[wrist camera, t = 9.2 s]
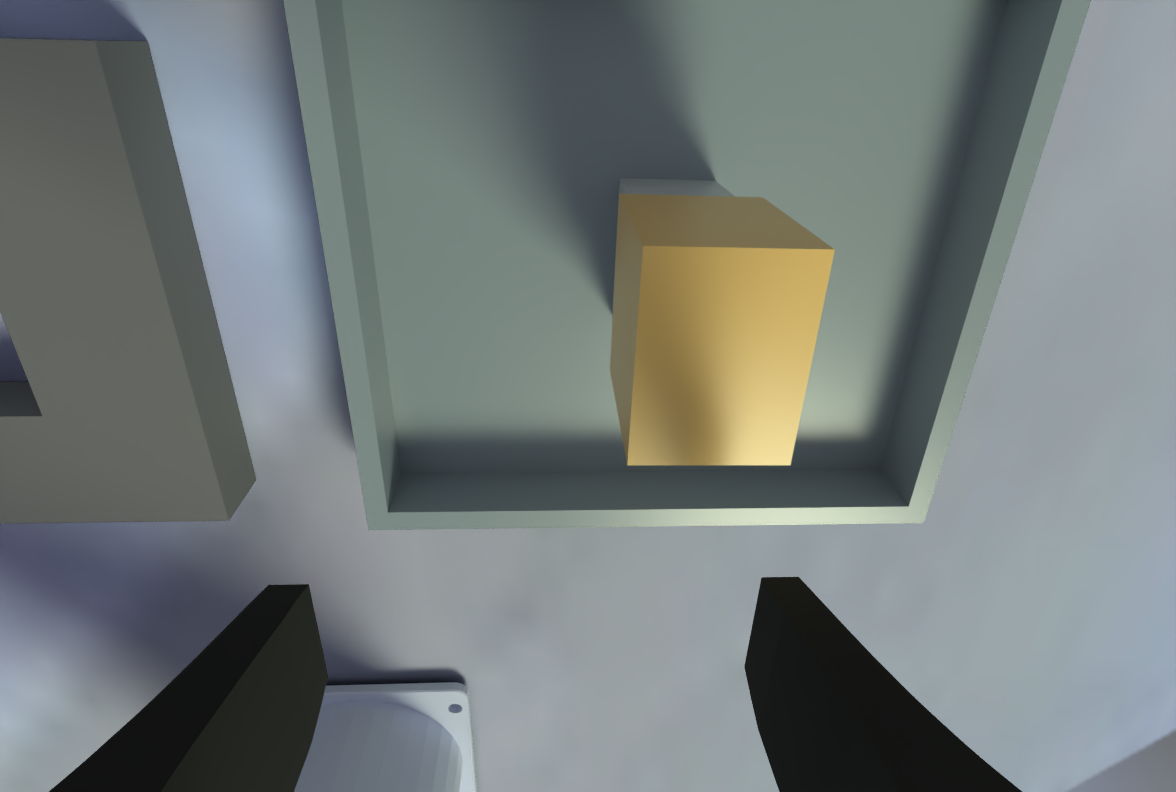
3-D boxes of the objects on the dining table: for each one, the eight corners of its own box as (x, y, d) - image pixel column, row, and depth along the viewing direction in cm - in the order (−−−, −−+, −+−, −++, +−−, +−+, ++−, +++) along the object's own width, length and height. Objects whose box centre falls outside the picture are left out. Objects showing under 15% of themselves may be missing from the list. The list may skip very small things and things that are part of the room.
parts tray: (885, 474, 22) (923, 522, 20) (387, 478, 21) (368, 530, 19) (1025, -34, 15) (1105, -46, 13) (313, -59, 15) (270, -76, 12)
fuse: (709, 323, 18) (790, 464, 12) (601, 322, 18) (626, 465, 12) (728, 172, 17) (835, 249, 10) (608, 169, 16) (643, 246, 10)
